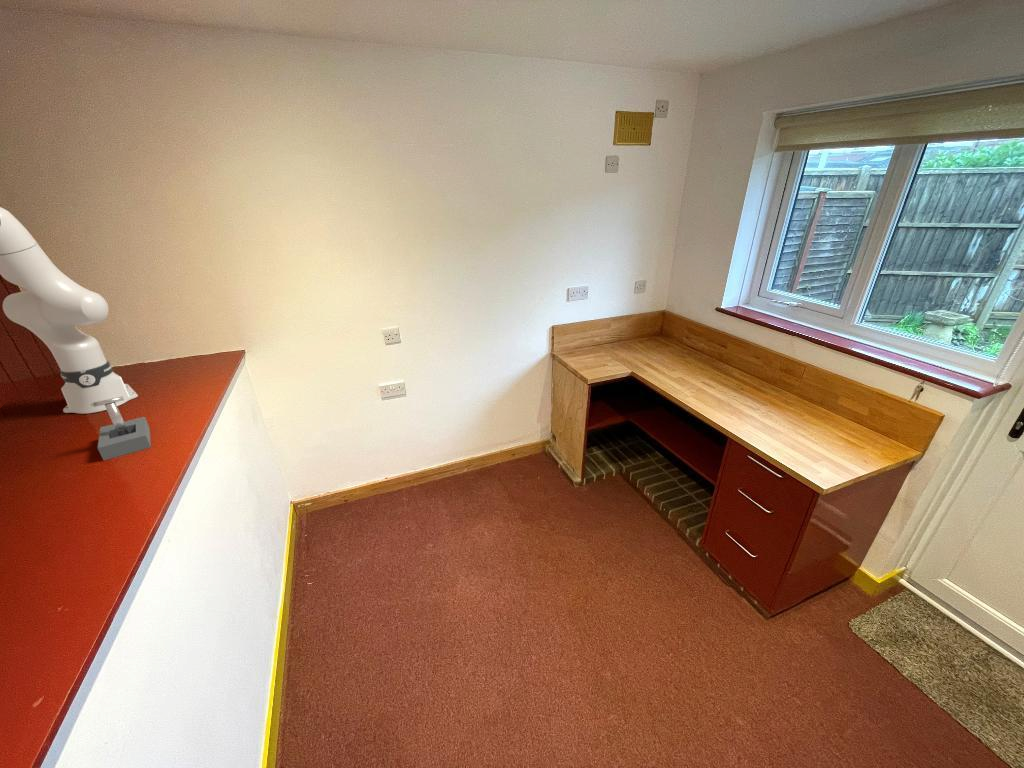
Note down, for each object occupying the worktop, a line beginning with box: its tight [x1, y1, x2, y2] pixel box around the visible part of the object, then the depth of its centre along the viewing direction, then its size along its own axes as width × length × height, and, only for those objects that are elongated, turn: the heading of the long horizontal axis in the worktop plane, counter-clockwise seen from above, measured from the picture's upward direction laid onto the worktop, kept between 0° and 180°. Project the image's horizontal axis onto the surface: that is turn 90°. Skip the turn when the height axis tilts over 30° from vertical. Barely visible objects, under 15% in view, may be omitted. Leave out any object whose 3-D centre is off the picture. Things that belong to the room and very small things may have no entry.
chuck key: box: [91, 396, 129, 436], centre depth 117 cm, size 4×7×14 cm
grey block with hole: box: [97, 416, 152, 461], centre depth 119 cm, size 14×10×4 cm
